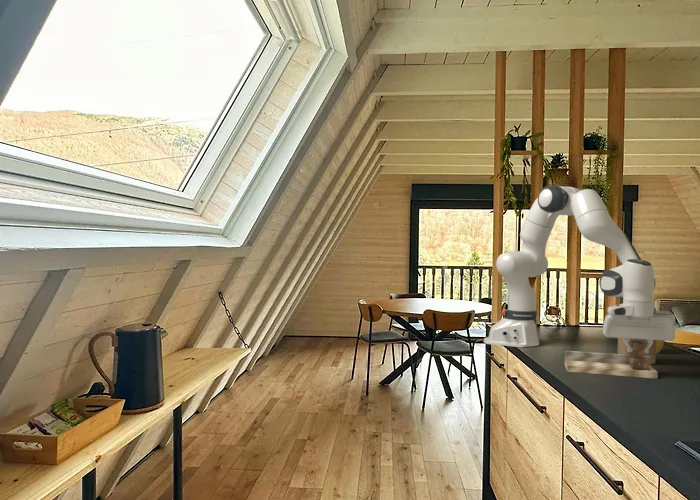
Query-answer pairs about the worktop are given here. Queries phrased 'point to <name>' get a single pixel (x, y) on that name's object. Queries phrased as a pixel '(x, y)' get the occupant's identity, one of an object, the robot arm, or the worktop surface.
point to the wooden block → (652, 350)
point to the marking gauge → (638, 356)
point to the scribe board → (606, 364)
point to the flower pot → (659, 345)
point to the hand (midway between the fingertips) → (637, 352)
